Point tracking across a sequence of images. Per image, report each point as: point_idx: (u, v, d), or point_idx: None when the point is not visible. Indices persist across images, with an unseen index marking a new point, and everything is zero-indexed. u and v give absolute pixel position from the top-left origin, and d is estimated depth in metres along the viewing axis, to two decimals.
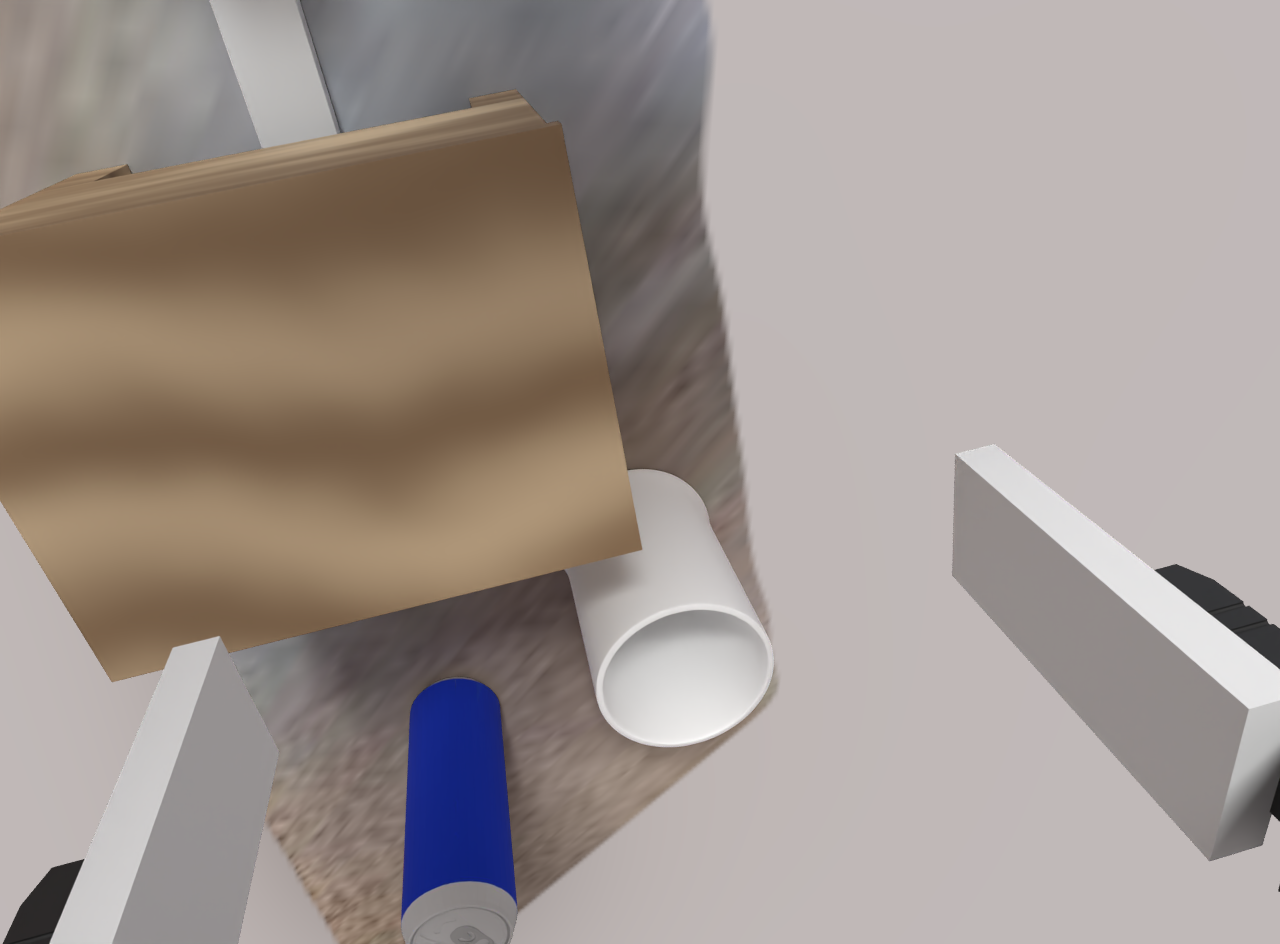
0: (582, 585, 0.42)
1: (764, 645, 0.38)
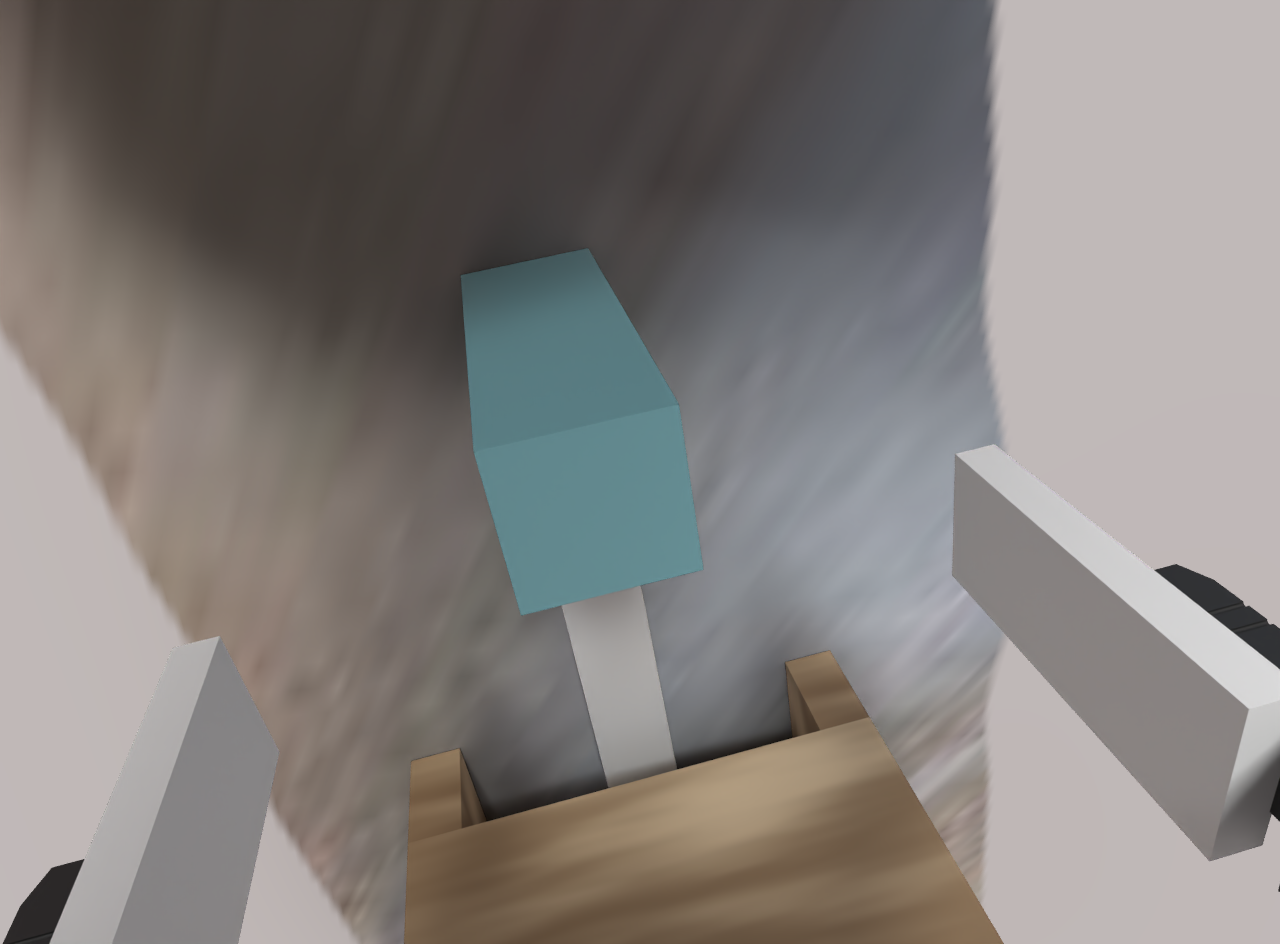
0: None
1: None
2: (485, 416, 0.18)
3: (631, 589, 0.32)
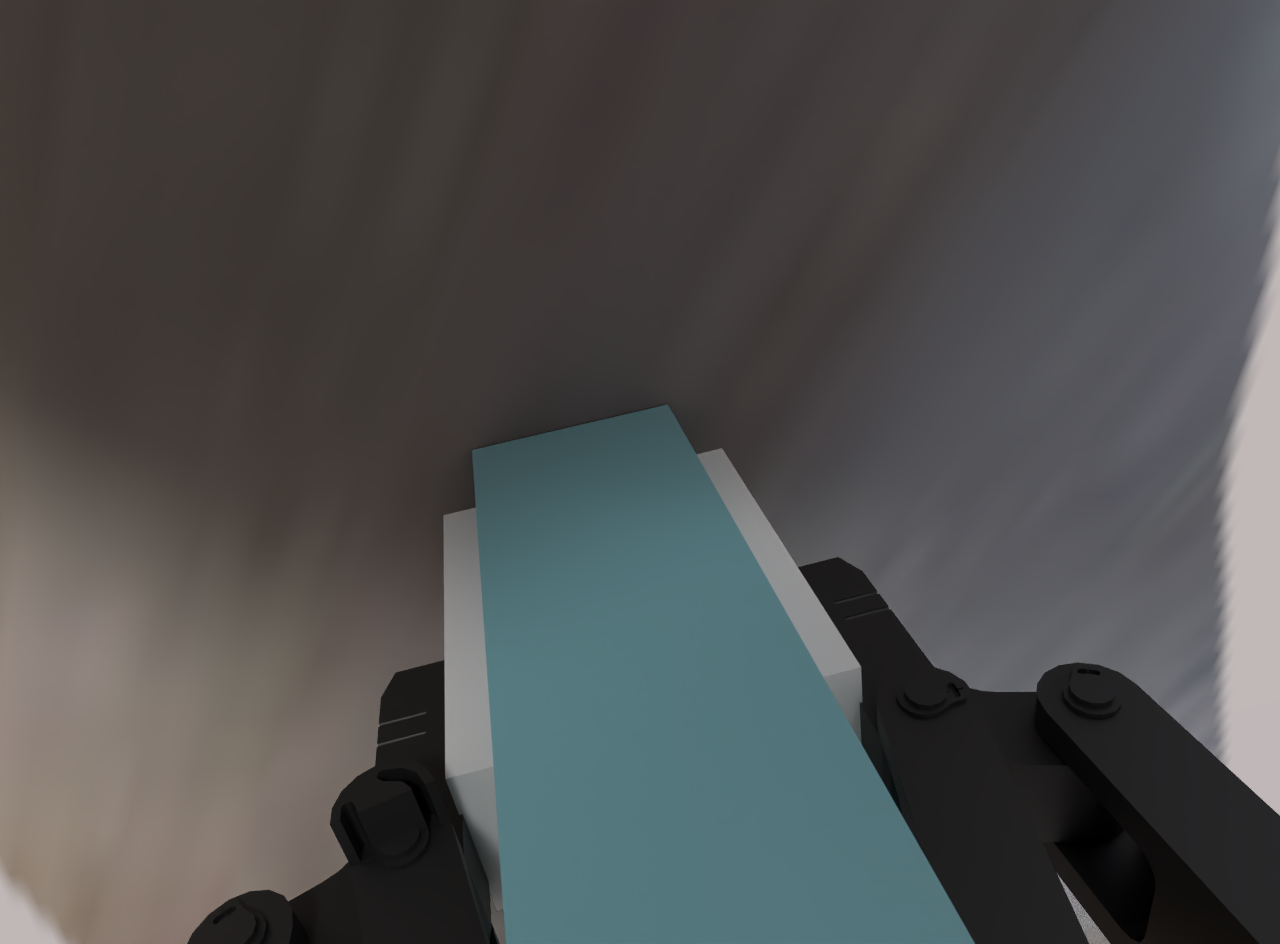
0: None
1: None
2: None
3: None
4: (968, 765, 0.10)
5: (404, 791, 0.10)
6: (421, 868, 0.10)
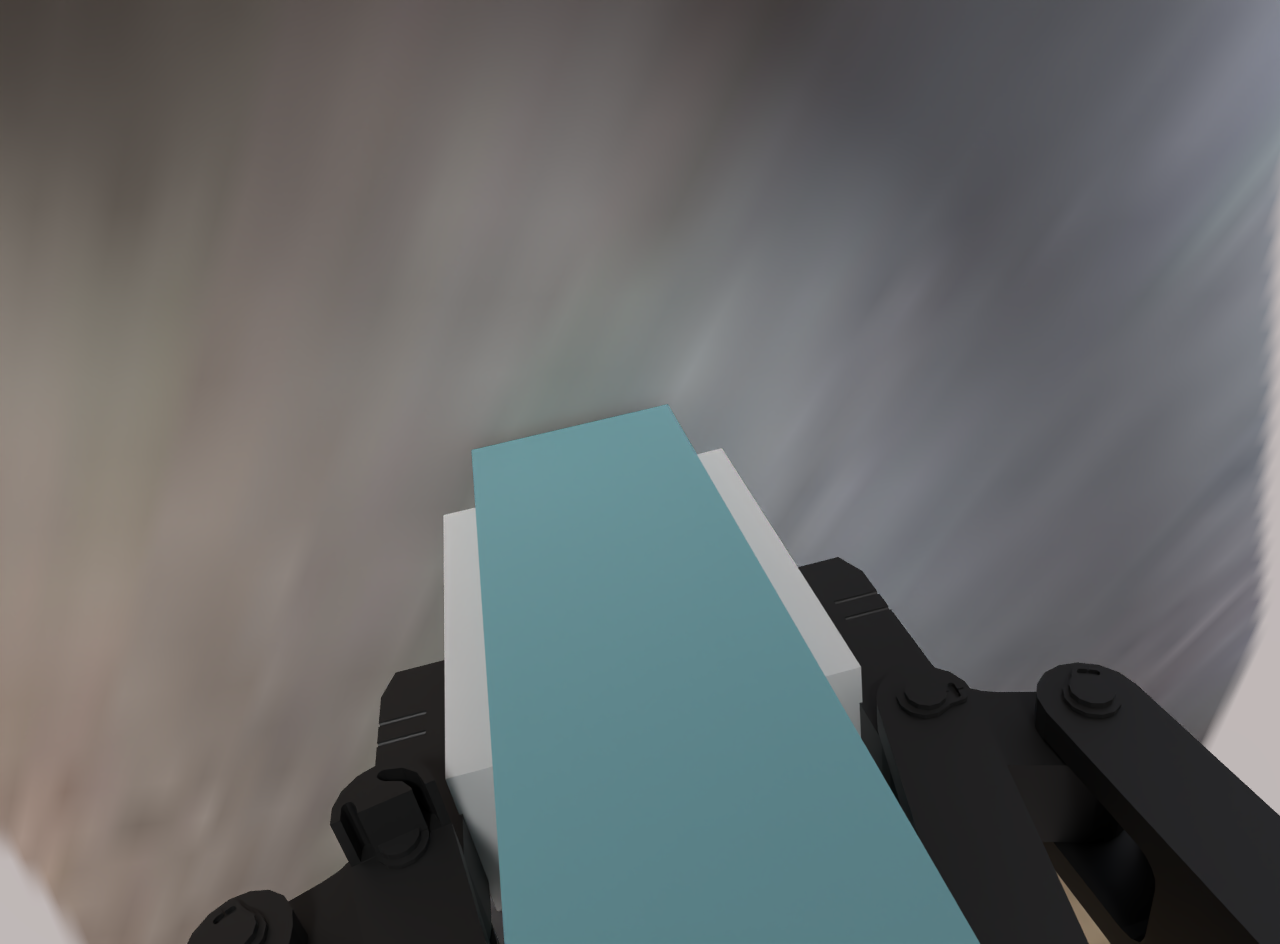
0: None
1: None
2: (535, 940, 0.08)
3: None
4: (968, 765, 0.10)
5: (404, 791, 0.10)
6: (421, 868, 0.10)
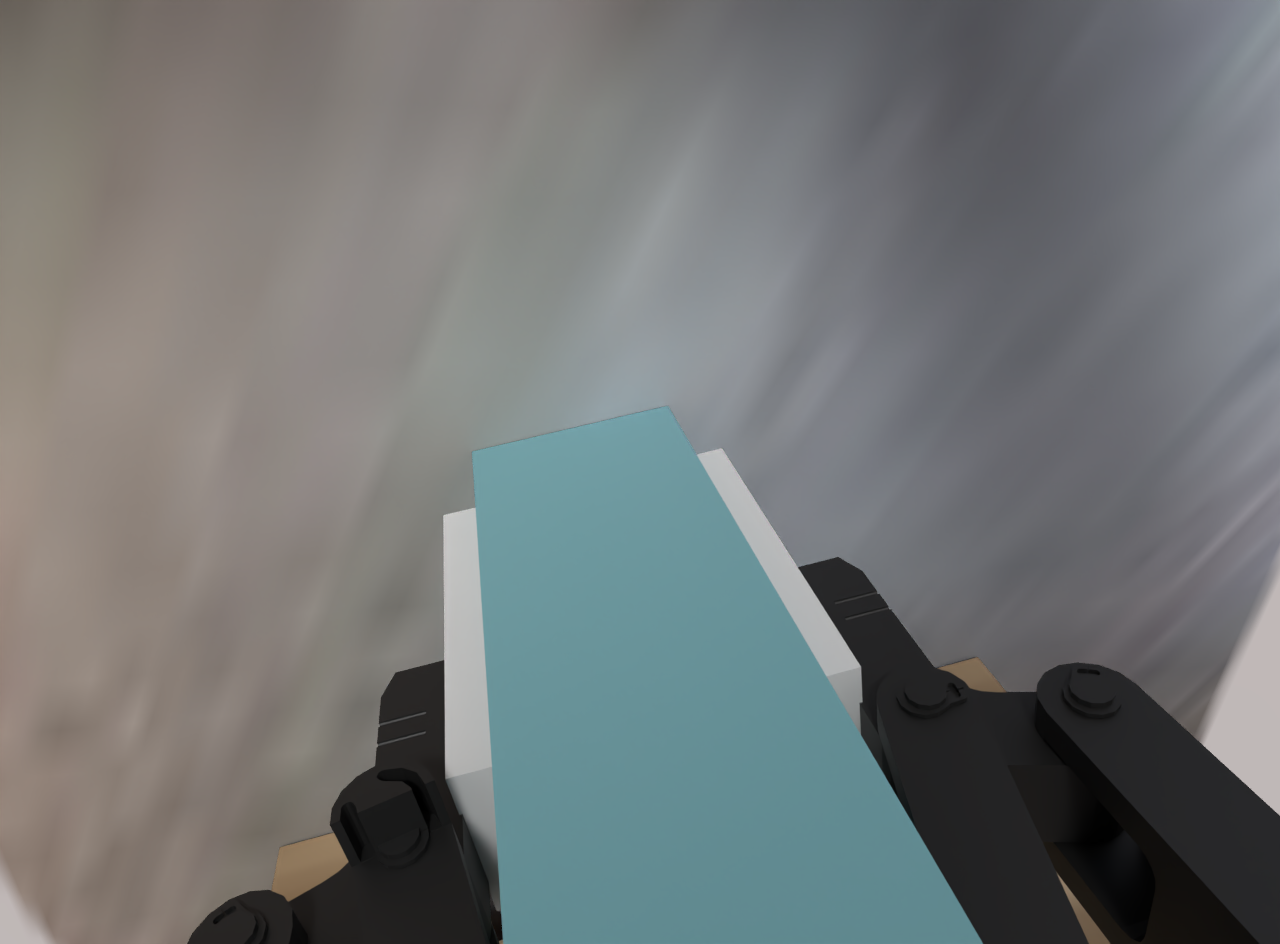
0: None
1: None
2: (535, 936, 0.08)
3: None
4: (968, 765, 0.10)
5: (404, 791, 0.10)
6: (421, 868, 0.10)
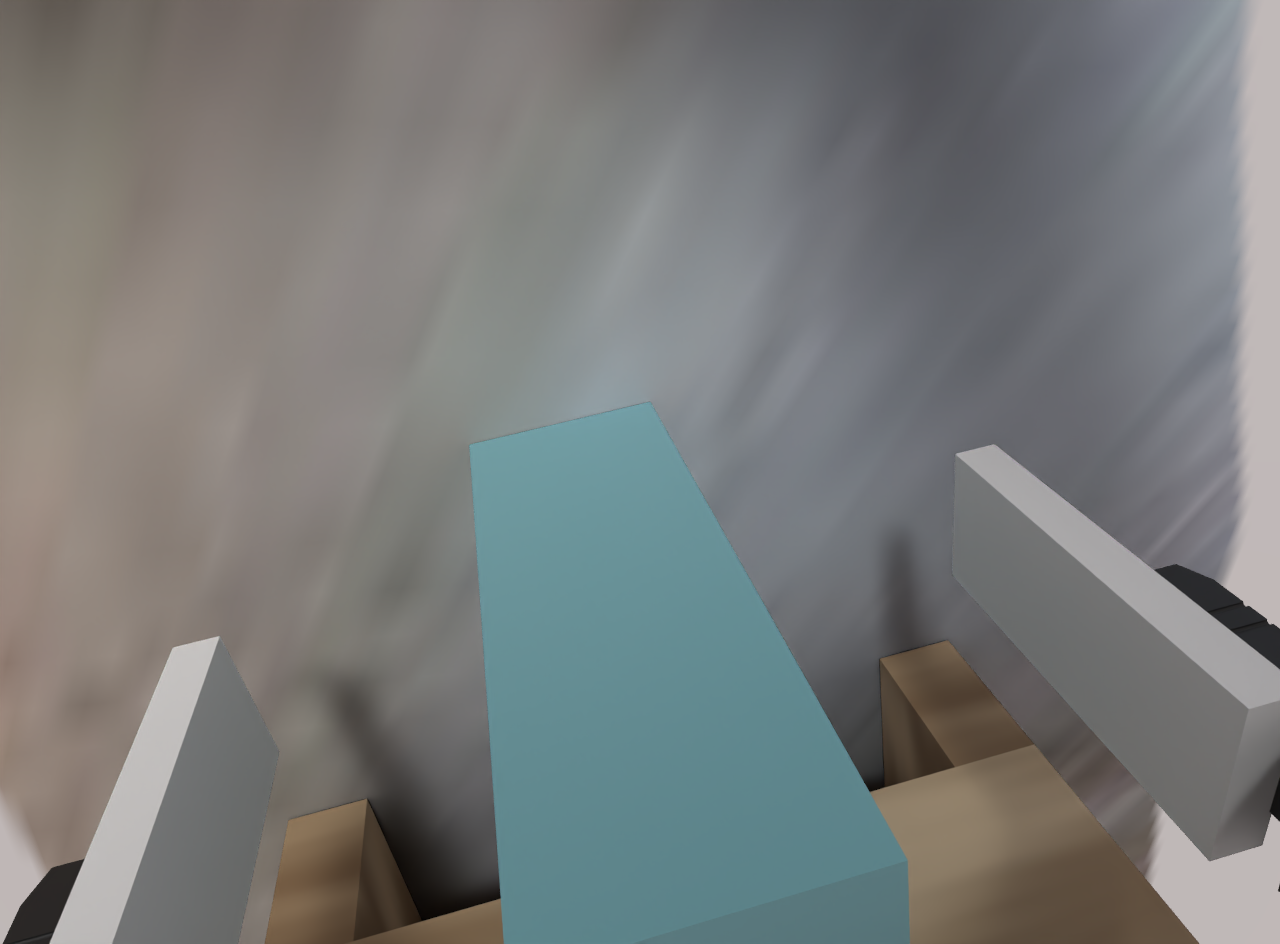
0: None
1: None
2: (524, 846, 0.09)
3: None
4: None
5: None
6: None
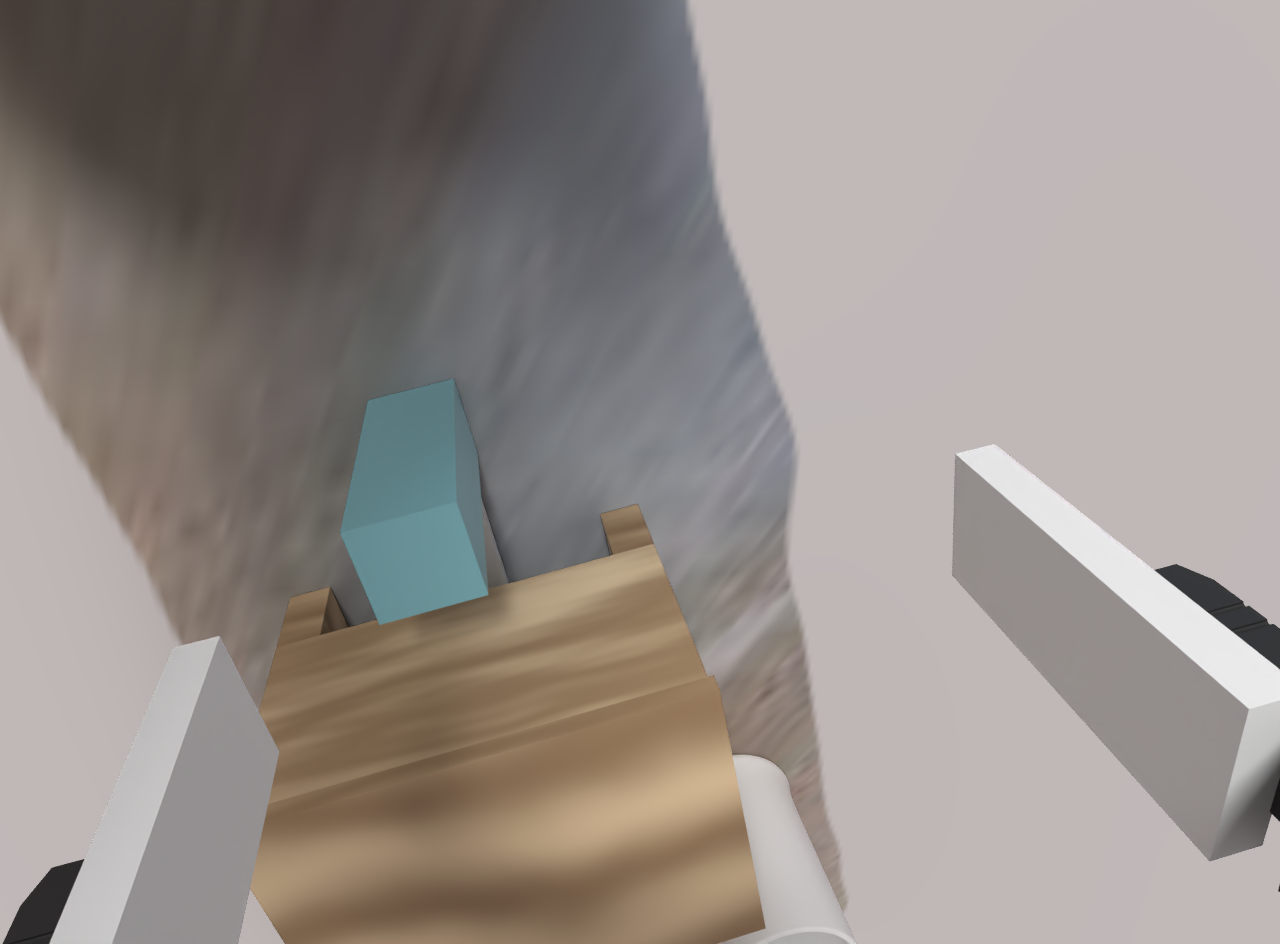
0: None
1: None
2: (352, 510, 0.31)
3: None
4: None
5: None
6: None
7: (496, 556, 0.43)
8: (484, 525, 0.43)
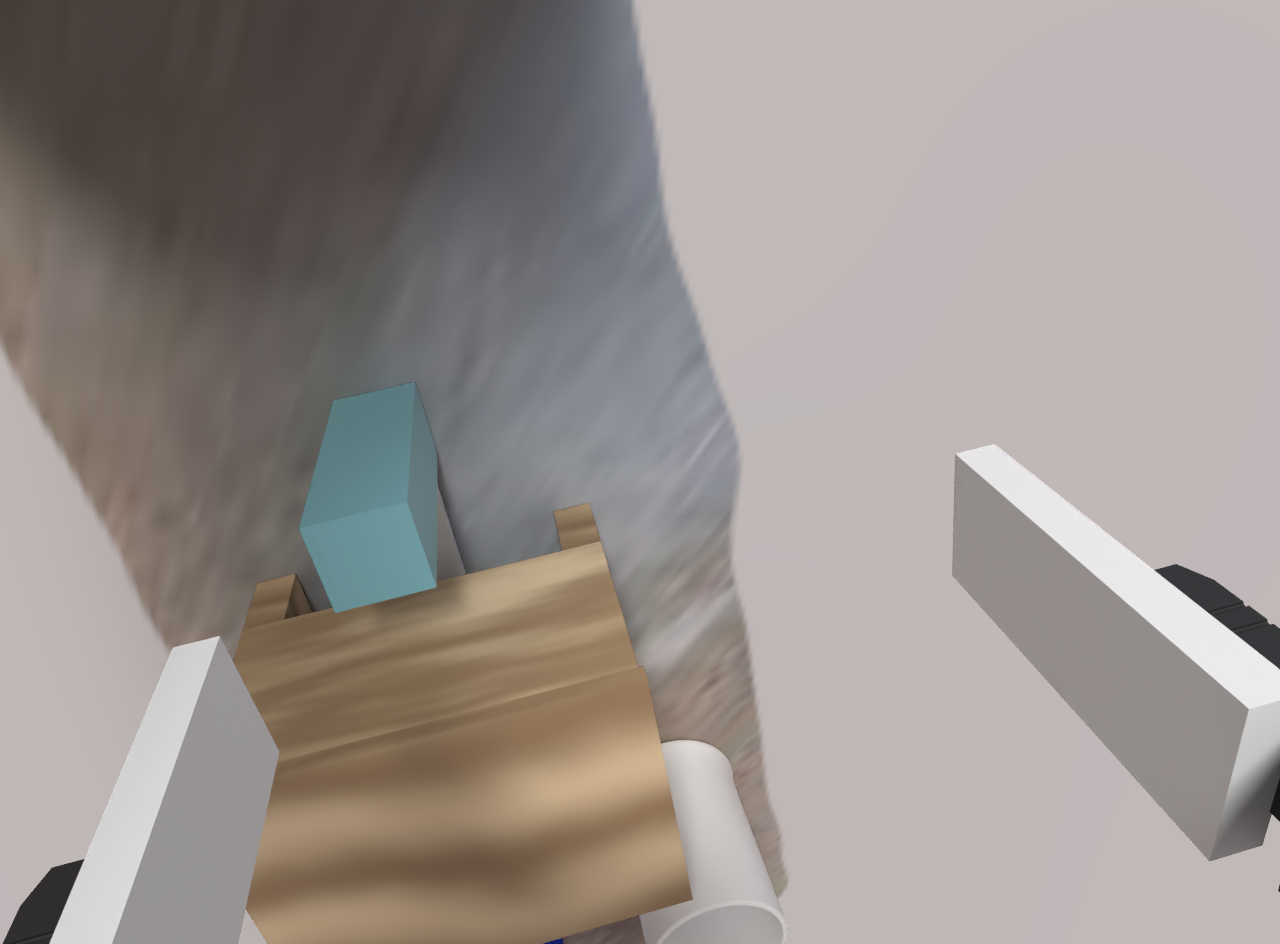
0: None
1: (780, 922, 0.49)
2: (311, 506, 0.33)
3: None
4: None
5: None
6: None
7: (453, 549, 0.46)
8: (442, 519, 0.45)
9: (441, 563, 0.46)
